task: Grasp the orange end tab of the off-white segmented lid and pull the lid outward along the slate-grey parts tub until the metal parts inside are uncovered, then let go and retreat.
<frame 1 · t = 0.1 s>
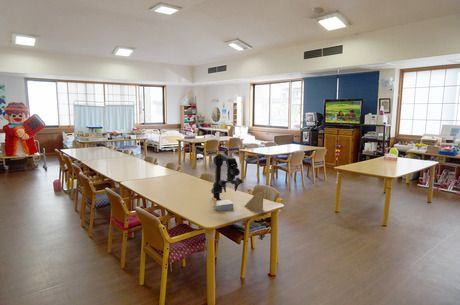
hand: (230, 191, 248), 15 cm above the table, fingers open, 9 cm apart
tub: (223, 208, 252), on the table
sandwich container: (253, 208, 254), on the table
lid: (222, 200, 251), point 7 cm above the table, slide at 0.0 cm
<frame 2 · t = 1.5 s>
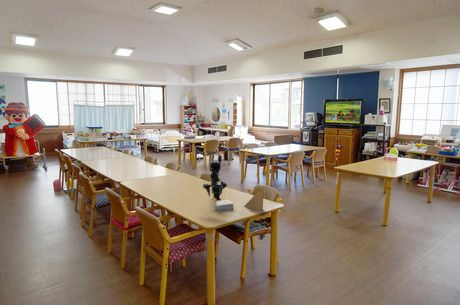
hand: (214, 195, 247), 11 cm above the table, fingers open, 9 cm apart
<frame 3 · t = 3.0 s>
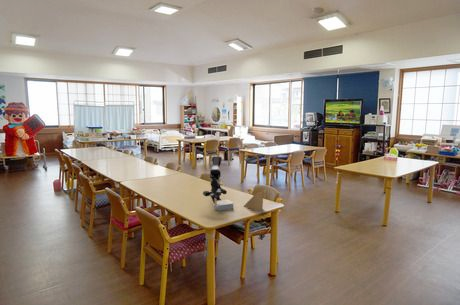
hand: (214, 202, 248), 6 cm above the table, fingers closed on lid
lid: (222, 200, 251), point 7 cm above the table, slide at 0.0 cm, touching gripper
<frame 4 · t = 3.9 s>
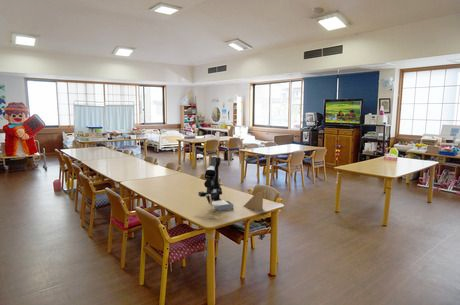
hand: (210, 203, 246), 6 cm above the table, fingers closed on lid
lid: (218, 201, 249), point 7 cm above the table, slide at 4.0 cm, touching gripper
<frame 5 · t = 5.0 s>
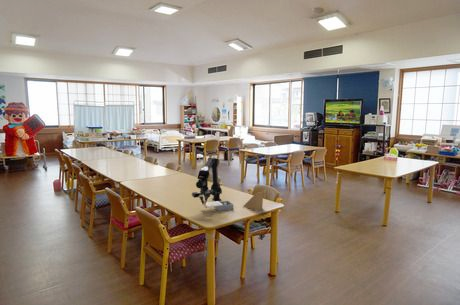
hand: (203, 204, 244), 6 cm above the table, fingers closed
lid: (211, 201, 247), point 7 cm above the table, slide at 9.4 cm
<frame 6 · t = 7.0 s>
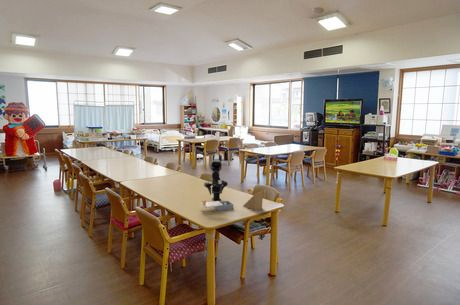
hand: (215, 194, 252), 11 cm above the table, fingers open, 9 cm apart
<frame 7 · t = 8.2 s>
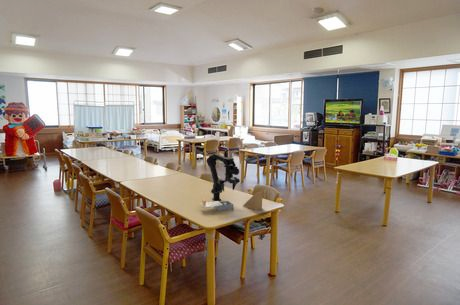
hand: (228, 190, 261), 12 cm above the table, fingers open, 9 cm apart
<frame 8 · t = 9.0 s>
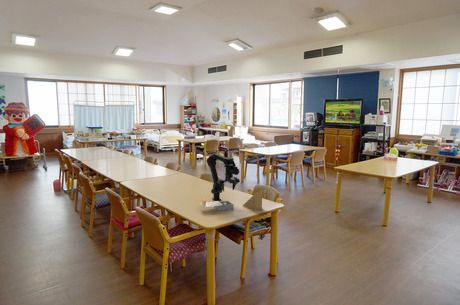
hand: (228, 190, 261), 12 cm above the table, fingers open, 9 cm apart
at the end: lid slide at 9.4 cm; the gripper is holding nothing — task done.
